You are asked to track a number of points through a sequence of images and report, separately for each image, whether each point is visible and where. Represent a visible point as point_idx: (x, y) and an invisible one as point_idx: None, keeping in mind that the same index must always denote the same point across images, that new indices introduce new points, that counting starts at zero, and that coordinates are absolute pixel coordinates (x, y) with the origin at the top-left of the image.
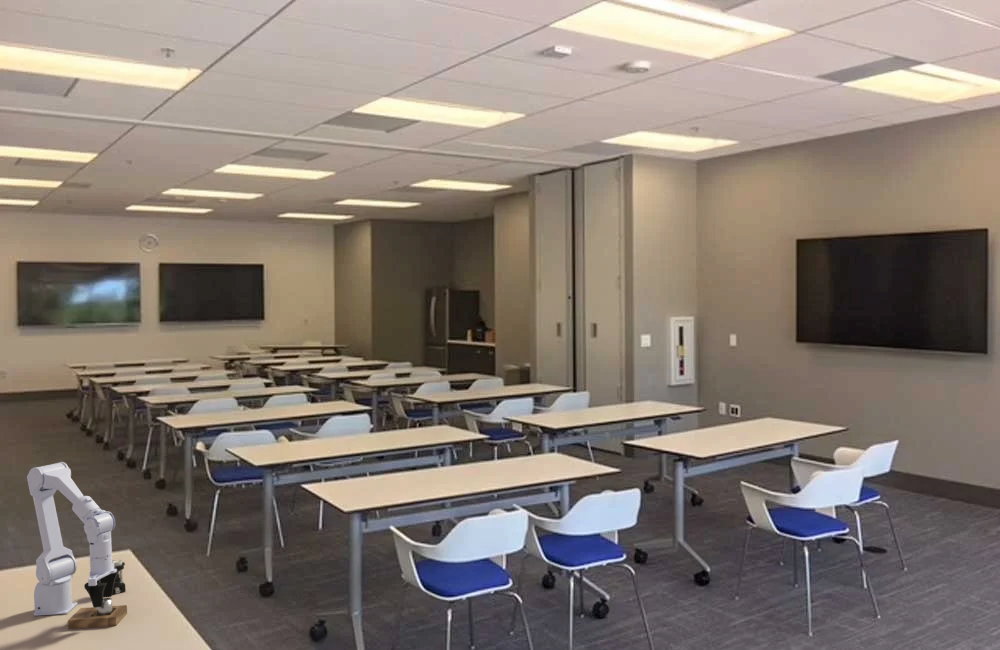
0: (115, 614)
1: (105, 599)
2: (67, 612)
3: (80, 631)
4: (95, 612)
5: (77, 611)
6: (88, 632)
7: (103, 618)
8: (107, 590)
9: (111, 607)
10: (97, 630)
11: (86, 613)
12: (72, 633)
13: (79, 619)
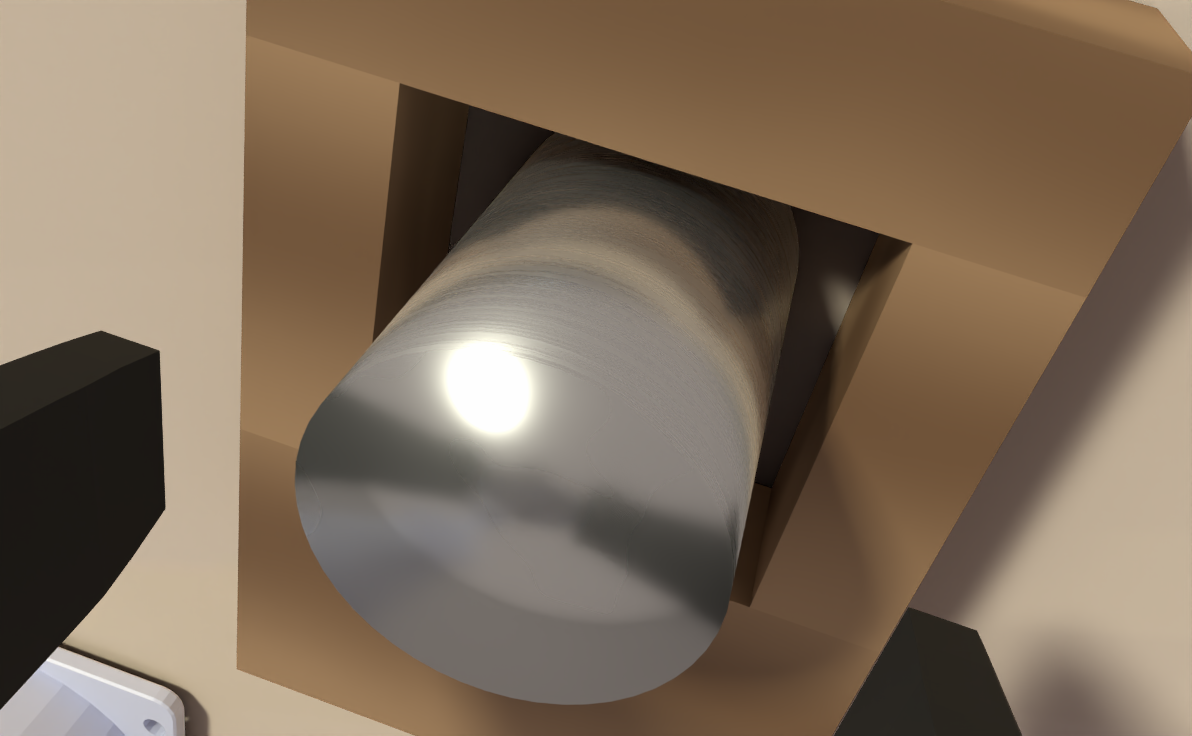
0: (945, 98)
1: (433, 515)
2: (160, 691)
3: (1011, 624)
4: None
5: (384, 721)
6: (1174, 530)
7: (1034, 379)
8: (10, 561)
9: (643, 257)
10: (1180, 391)
11: None
12: (1029, 716)
13: None
